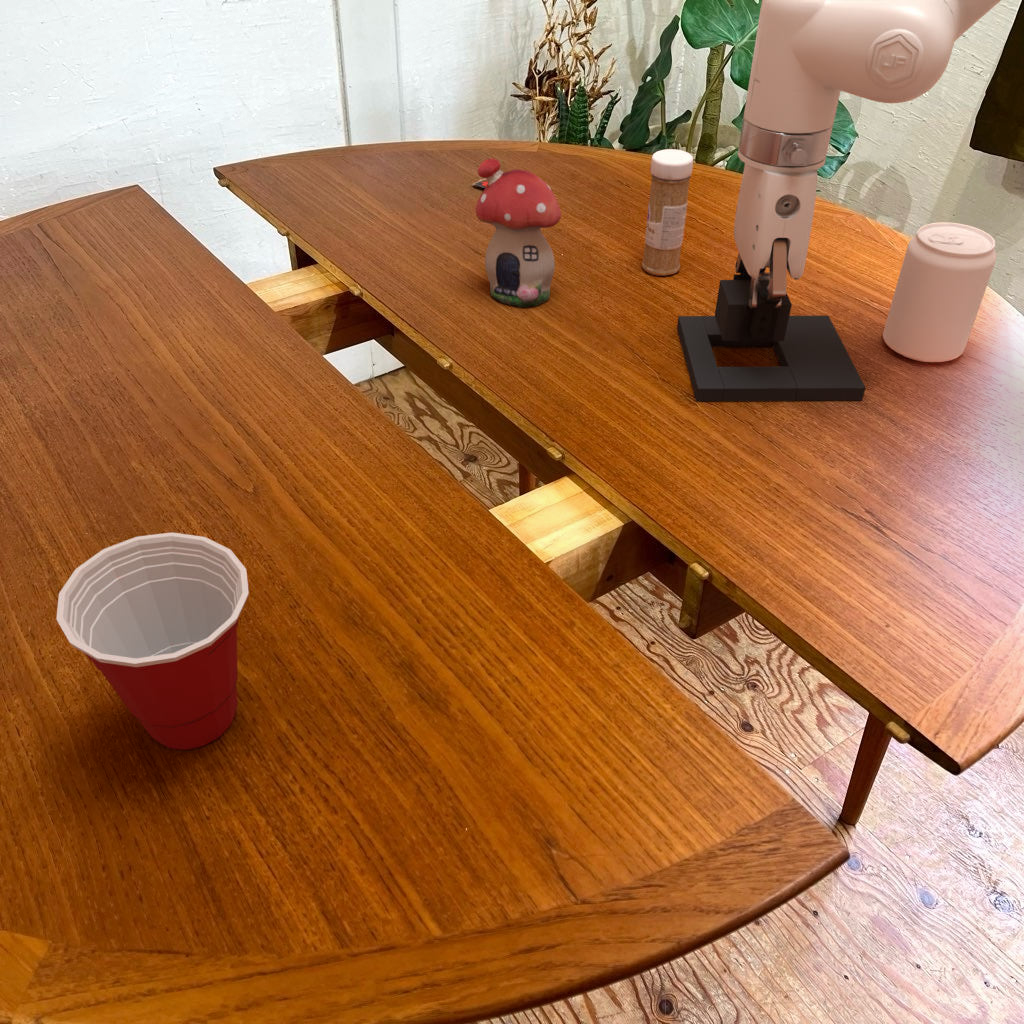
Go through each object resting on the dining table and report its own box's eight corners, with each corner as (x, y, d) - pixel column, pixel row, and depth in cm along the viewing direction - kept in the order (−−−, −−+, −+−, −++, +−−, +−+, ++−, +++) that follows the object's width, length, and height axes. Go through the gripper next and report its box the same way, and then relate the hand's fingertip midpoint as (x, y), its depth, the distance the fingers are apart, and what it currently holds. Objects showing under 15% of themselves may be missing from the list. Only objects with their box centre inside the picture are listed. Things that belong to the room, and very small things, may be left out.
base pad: (825, 327, 103) (828, 315, 102) (862, 400, 92) (865, 387, 91) (676, 328, 103) (678, 315, 102) (696, 401, 92) (698, 388, 91)
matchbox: (501, 194, 130) (500, 191, 130) (468, 187, 132) (468, 184, 132) (517, 183, 133) (517, 179, 133) (485, 176, 135) (485, 173, 135)
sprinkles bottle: (637, 261, 115) (647, 149, 106) (673, 258, 116) (686, 146, 107) (647, 279, 112) (658, 164, 103) (685, 276, 112) (699, 161, 104)
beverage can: (963, 373, 96) (1003, 261, 88) (879, 359, 98) (910, 249, 90) (962, 334, 102) (999, 226, 94) (882, 322, 104) (912, 215, 96)
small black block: (773, 315, 97) (780, 279, 95) (784, 341, 93) (792, 304, 91) (714, 315, 97) (720, 279, 94) (722, 341, 93) (728, 304, 91)
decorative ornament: (468, 293, 109) (463, 162, 99) (500, 271, 113) (498, 143, 104) (538, 315, 105) (540, 180, 96) (568, 291, 109) (573, 160, 100)
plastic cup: (269, 778, 60) (233, 652, 53) (94, 790, 60) (31, 664, 52) (286, 648, 69) (257, 522, 61) (132, 658, 68) (82, 532, 60)
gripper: (854, 179, 77) (807, 372, 89) (804, 108, 90) (769, 285, 102) (760, 179, 77) (726, 372, 89) (724, 108, 90) (698, 285, 102)
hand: (749, 324), depth 95 cm, fingers closed on small black block, 5 cm apart
